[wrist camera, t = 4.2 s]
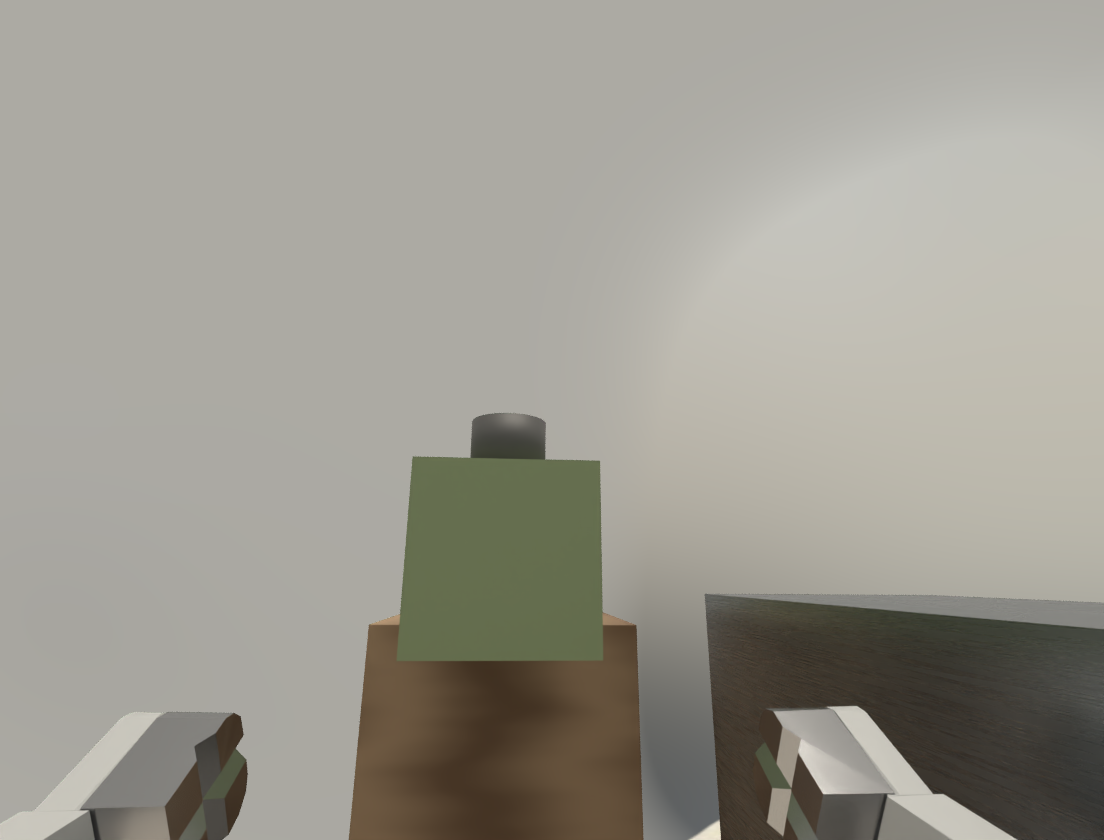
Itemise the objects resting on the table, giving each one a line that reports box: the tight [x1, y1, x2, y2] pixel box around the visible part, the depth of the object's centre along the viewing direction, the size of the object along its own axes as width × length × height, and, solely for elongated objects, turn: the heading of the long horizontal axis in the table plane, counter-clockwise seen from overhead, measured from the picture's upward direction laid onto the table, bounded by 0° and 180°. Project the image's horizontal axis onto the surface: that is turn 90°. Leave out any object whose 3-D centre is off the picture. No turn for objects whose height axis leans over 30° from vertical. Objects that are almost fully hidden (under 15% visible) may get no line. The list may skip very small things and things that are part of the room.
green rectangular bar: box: [397, 413, 603, 661], centre depth 20 cm, size 4×19×5 cm, turn 4°
